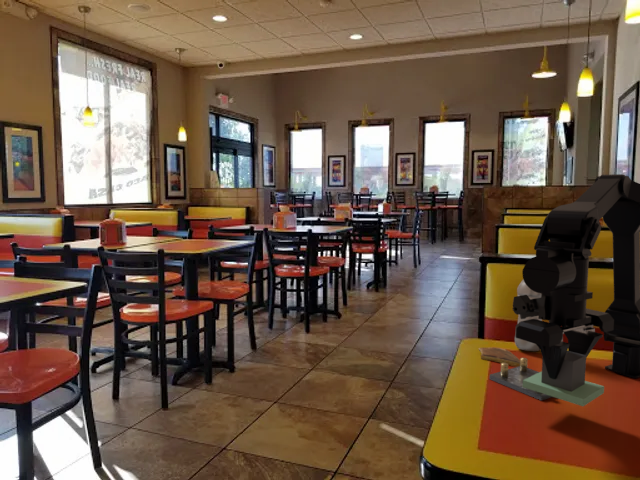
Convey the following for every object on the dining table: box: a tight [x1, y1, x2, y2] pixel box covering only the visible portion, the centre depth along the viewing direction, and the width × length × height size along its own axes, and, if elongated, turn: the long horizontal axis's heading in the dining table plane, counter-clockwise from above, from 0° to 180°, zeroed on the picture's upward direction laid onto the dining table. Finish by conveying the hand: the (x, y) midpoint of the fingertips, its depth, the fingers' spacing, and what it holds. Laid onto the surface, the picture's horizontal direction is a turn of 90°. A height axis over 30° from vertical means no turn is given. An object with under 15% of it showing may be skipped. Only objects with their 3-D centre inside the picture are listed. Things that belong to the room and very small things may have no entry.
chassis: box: [488, 357, 553, 402], centre depth 98 cm, size 10×12×4 cm
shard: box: [478, 347, 520, 368], centre depth 112 cm, size 11×8×2 cm
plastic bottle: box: [514, 278, 543, 352], centre depth 119 cm, size 6×7×20 cm
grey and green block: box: [523, 350, 605, 407], centre depth 83 cm, size 8×10×6 cm
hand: (563, 375), depth 83 cm, fingers closed on grey and green block, 5 cm apart
